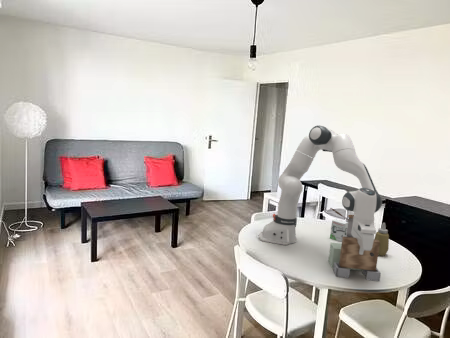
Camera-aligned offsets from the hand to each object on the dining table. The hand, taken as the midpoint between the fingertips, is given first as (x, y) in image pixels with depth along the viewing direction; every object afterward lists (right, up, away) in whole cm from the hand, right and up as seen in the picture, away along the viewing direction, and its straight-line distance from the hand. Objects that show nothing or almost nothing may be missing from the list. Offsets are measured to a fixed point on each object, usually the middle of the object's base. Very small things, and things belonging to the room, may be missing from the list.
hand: (359, 251), depth 154 cm
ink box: (+6, -5, +48) cm, 49 cm away
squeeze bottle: (+23, -9, +30) cm, 39 cm away
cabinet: (0, -11, +7) cm, 13 cm away
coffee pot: (+14, -3, +59) cm, 61 cm away
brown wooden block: (0, -8, +1) cm, 8 cm away
